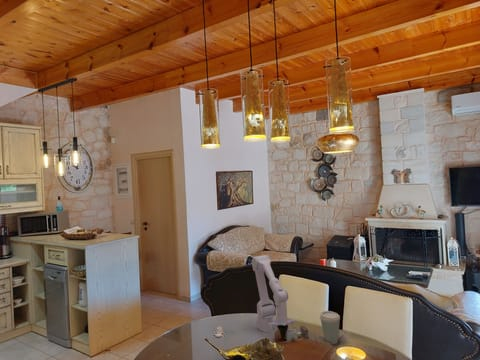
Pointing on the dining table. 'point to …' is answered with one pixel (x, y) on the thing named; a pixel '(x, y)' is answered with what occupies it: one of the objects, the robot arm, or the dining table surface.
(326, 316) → the disposable coffee cup
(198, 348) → the dining table surface
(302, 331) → the scale board
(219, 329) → the teacup and saucer
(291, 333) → the gauge carriage
